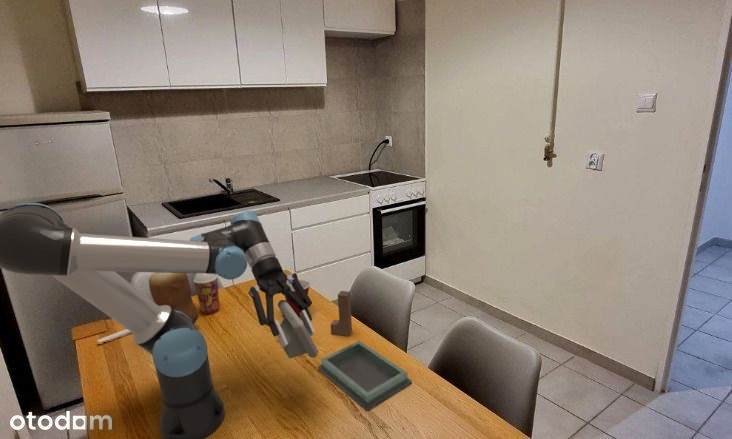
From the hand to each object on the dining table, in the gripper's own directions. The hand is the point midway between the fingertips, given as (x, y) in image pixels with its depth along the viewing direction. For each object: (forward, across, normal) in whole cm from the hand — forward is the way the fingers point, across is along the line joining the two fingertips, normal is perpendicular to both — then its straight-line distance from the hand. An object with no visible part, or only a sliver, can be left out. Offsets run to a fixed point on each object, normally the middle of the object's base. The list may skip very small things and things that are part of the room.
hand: (299, 339), depth 108 cm
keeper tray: (+15, -18, -11) cm, 26 cm away
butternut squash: (-27, +15, -54) cm, 62 cm away
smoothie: (-34, +1, -61) cm, 70 cm away
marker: (-37, +29, -64) cm, 79 cm away
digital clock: (+1, -1, -5) cm, 5 cm away
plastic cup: (-17, -23, -43) cm, 52 cm away
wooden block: (-1, -27, -28) cm, 39 cm away
